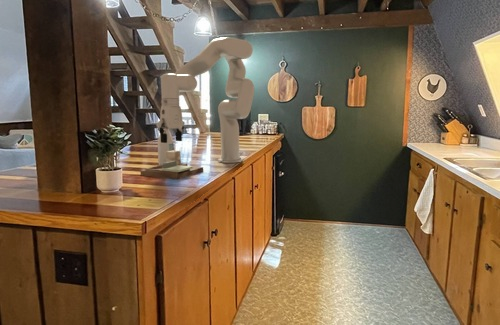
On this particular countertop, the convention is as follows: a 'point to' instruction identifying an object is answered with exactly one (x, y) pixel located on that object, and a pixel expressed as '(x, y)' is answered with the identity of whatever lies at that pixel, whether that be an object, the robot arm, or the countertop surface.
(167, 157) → the block
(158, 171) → the board
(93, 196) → the countertop surface
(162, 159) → the milk bottle
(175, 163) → the lid
